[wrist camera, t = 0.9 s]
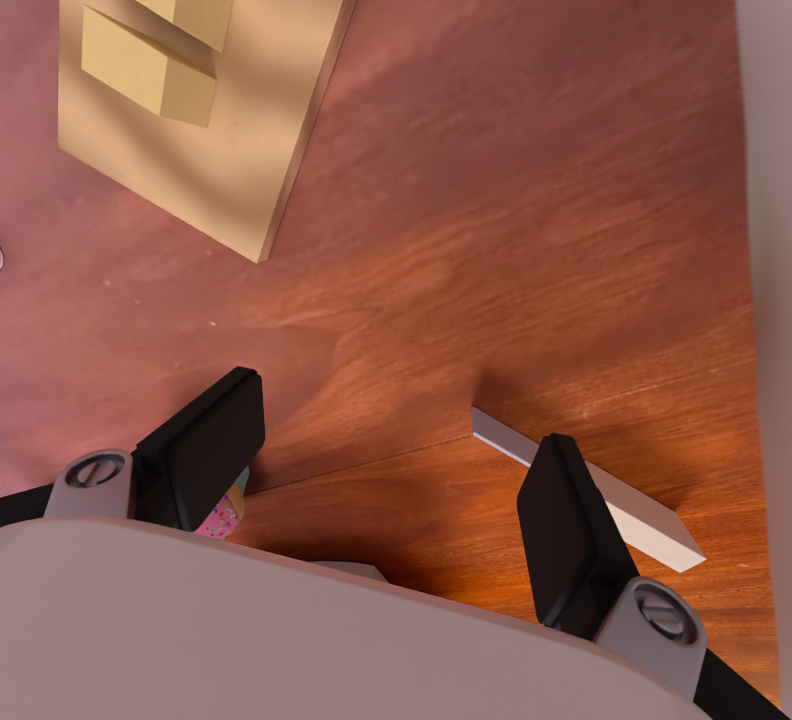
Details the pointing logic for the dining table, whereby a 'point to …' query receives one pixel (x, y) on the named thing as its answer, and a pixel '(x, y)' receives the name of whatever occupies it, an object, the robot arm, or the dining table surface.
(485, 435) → the knife
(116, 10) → the board
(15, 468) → the dining table surface
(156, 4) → the butter
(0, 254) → the smoothie
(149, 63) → the butter slice
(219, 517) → the cupcake
